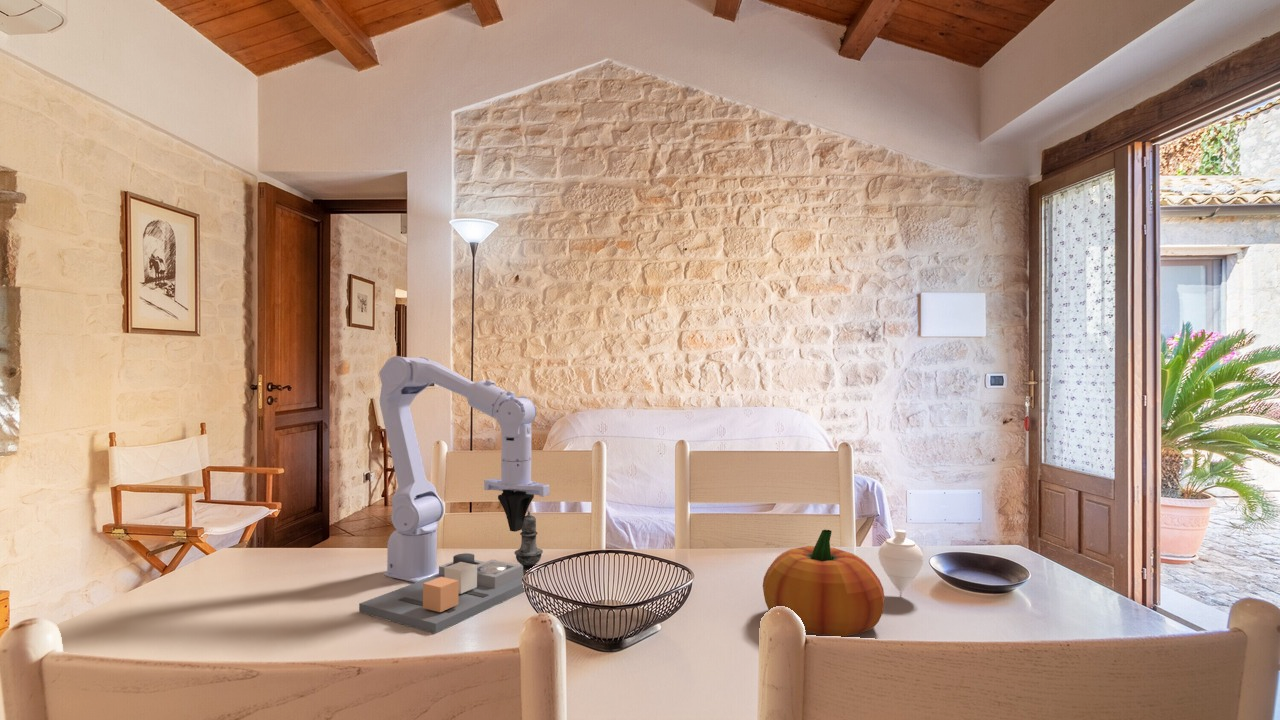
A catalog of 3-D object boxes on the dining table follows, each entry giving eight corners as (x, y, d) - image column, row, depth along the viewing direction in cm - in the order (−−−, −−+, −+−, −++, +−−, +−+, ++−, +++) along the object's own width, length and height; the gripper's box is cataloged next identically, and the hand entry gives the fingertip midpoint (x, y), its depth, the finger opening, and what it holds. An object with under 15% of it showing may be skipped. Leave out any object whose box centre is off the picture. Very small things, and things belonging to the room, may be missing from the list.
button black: (448, 564, 123) (448, 557, 123) (463, 559, 127) (463, 552, 127) (464, 567, 121) (464, 560, 121) (478, 562, 125) (478, 555, 125)
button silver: (473, 576, 120) (474, 568, 120) (492, 569, 124) (492, 561, 124) (494, 580, 117) (494, 572, 117) (511, 572, 122) (511, 565, 122)
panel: (359, 612, 107) (359, 591, 107) (468, 570, 130) (468, 553, 130) (435, 633, 99) (436, 610, 99) (538, 584, 122) (538, 566, 122)
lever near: (422, 607, 104) (423, 583, 104) (441, 600, 108) (441, 576, 108) (440, 612, 102) (440, 587, 103) (458, 604, 106) (458, 580, 106)
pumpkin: (738, 613, 107) (738, 525, 108) (821, 594, 117) (820, 513, 117) (823, 658, 91) (823, 553, 91) (911, 631, 100) (910, 536, 100)
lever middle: (444, 590, 113) (444, 567, 113) (460, 583, 116) (460, 561, 117) (460, 593, 111) (461, 570, 111) (476, 587, 115) (477, 564, 115)
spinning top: (924, 592, 118) (923, 528, 118) (923, 606, 111) (923, 537, 111) (880, 586, 121) (879, 523, 121) (877, 599, 114) (876, 532, 114)
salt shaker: (536, 574, 128) (537, 514, 128) (509, 572, 129) (510, 513, 130) (546, 565, 134) (547, 508, 134) (520, 563, 135) (521, 507, 135)
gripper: (473, 459, 122) (472, 530, 122) (533, 464, 115) (532, 539, 115) (498, 455, 128) (497, 522, 128) (556, 460, 121) (555, 531, 121)
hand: (515, 530), depth 122 cm, fingers closed
